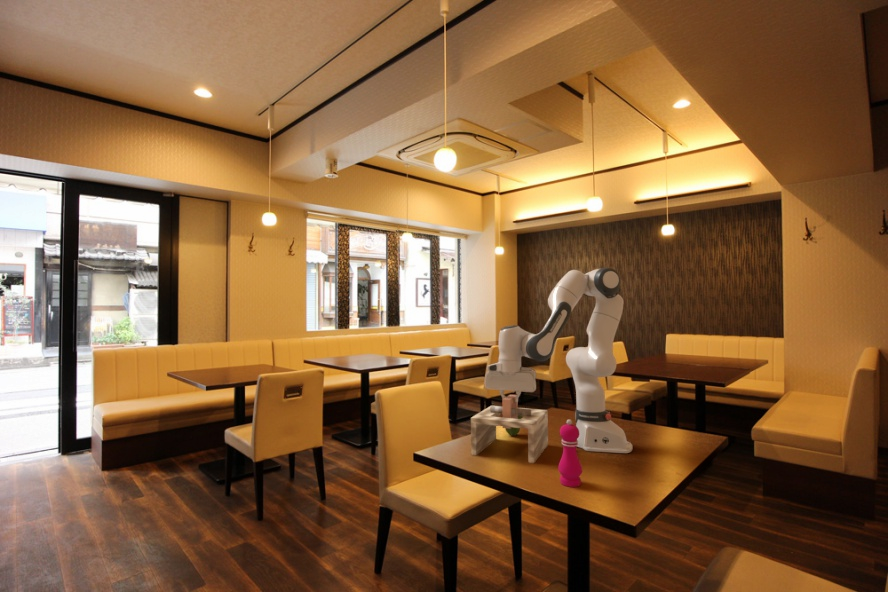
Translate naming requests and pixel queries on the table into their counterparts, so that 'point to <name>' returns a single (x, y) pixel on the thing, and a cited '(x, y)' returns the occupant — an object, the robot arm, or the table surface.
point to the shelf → (488, 420)
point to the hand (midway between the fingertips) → (510, 401)
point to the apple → (513, 429)
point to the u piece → (509, 408)
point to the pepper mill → (570, 456)
